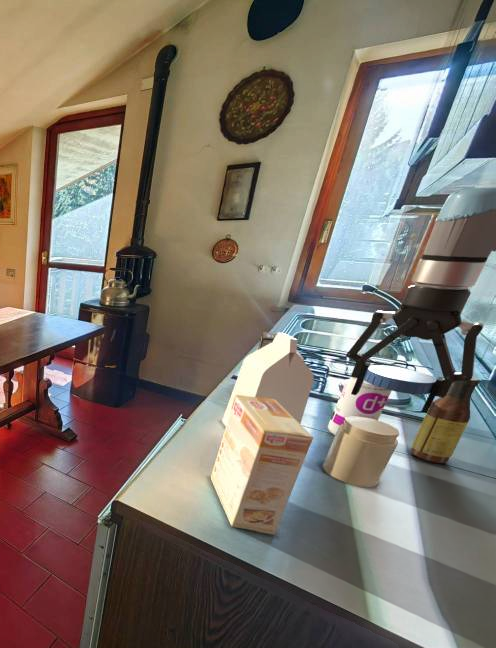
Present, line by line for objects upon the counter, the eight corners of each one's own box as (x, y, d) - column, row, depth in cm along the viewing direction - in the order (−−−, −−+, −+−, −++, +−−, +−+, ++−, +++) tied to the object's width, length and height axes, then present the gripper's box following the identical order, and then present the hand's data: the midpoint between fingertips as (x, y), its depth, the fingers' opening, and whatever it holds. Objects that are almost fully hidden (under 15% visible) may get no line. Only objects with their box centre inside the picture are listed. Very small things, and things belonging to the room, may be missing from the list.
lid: (443, 398, 70) (449, 386, 69) (376, 389, 73) (381, 378, 72) (413, 379, 78) (418, 369, 77) (354, 373, 81) (358, 362, 80)
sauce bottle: (455, 463, 88) (501, 382, 80) (432, 465, 87) (477, 384, 79) (420, 448, 94) (461, 371, 86) (399, 450, 93) (438, 373, 85)
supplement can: (375, 445, 95) (402, 389, 89) (334, 439, 97) (357, 384, 92) (359, 430, 102) (382, 377, 96) (321, 424, 104) (342, 372, 99)
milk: (221, 421, 105) (248, 327, 95) (269, 426, 103) (301, 331, 93) (239, 444, 94) (271, 341, 84) (292, 450, 92) (332, 345, 82)
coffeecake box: (276, 536, 67) (316, 437, 59) (230, 527, 68) (262, 430, 61) (247, 484, 80) (276, 398, 72) (209, 477, 82) (233, 393, 74)
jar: (382, 477, 83) (406, 427, 78) (372, 493, 78) (397, 441, 73) (329, 457, 89) (349, 411, 85) (316, 471, 84) (337, 422, 80)
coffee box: (249, 375, 138) (262, 331, 131) (270, 379, 134) (285, 334, 128) (248, 383, 131) (262, 337, 124) (271, 388, 127) (287, 340, 121)
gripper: (544, 292, 62) (475, 417, 71) (362, 277, 78) (324, 380, 87) (545, 297, 58) (471, 429, 67) (352, 280, 74) (313, 388, 83)
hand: (388, 401), depth 77 cm, fingers closed on lid, 9 cm apart
